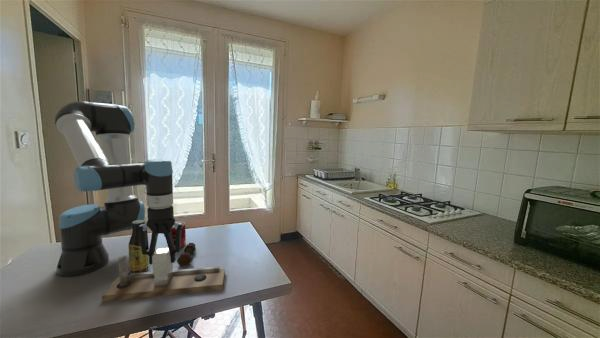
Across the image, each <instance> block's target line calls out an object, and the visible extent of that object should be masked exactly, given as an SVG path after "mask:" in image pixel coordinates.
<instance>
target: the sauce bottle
mask: <svg viewBox="0 0 600 338" xmlns="http://www.w3.org/2000/svg"><path fill="white" fill-rule="evenodd" d="M141 224H146V222H145V219H144V220H135V221H133V222H132V229H131V230H132V231H131V232H132V233H131V235H130V239H129V242H128V269H129V273H130V274H131V273H143V272H147V270H148V269H149V265H150V264H149V256H148V255H146V254H145V255H143V254H142V248H141V237H140V232H139V230H138V227H139V226H140V225H141Z"/></svg>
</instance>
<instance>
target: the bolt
mask: <svg viewBox="0 0 600 338" xmlns="http://www.w3.org/2000/svg"><path fill="white" fill-rule="evenodd" d="M196 249H197V248H196V244H195V243H194V242H189V243H188V244H185V246H184V249H183V252H182V253H180V255H179V257H178V258H177V260H176V263H177V264H178V266H179V267H189V266H190V264H191V263H192V261H193V259H194V258H193V256H192V255H194V253H195V252H196Z"/></svg>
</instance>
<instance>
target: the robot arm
mask: <svg viewBox="0 0 600 338" xmlns="http://www.w3.org/2000/svg"><path fill="white" fill-rule="evenodd" d="M135 124H136V123H135V119H134V115H133V113H132V112H131V110H130V108H128V107H127V106H125V105H119V104H114V103H103V102H92V101H84V100H79V101H78V100H77V101H73V102H69V103H67V104H65V105H63V106H61V107H60V108H59V109H58V110H57V111H56V114H55V115H54V125H55V127H56V129H57V131H58V132H59V133H61V135H63V136H64V138H65V140H66V143H67V145H68V146H69V149H70V151H71V153H72V155H73V158H74V159H75V161H76V162H75V163H77V166H76V167H75V168H74V171H73V181H74V186H75V188H76V190H78V191H79V192H92V191H94V192H97V191H103V190H104V191H105V190H107V198H106V200H104V202H103V203H104V206H102V207H101V206H100V205H99V204H96V203H92V204H85V205H83V204H82V205H79V206H75V207H72V208H69V209H68V210H65V211H63V212H62V213H61V214H60V215H59V218H58V228H59V234H60V235H59V236H60V244H61V245H60V246H61V254H60V257H59V259H58V262H57V264H56V265H57V266H56V273H57V275H58V276H60V277H76V276H81V275H85V274H90V273H92V272H95V271H97V270H100V269H101V268H104V267H105V266H106V265H107V264H108V263H109V262H110V256H109V253H108V251H107V249H106V248H105V246H104V244H103V237H104V236H110V235H113V234H117V233H121V232H124V231H130V230H132V222H133V221H135V220H144V221H145V217H146V213H147V221H146V222H145V224H141V225H140V226H139V227H138V230H139V232H140V237H141V248H142V254H143V255H145V254H146V255H148V256H149V265H151V266H152V272H153V275H154V253H155V251H156V250H157V248H156V247H157V242H158V238H159V234H162V235H163V236H164V238H165V241H166V244H167V248H169V252H170V253H169V254H168V273H171V272H172V270H174V266H173V265H174V263H175V262H176V261H177V260H176V259H177V258H176V257H177V256H176V254H177V253H180V251H181V250H182V248H181V234H182V227H183V223H182V222H183V221H182V222H181V223H178V222H175V221H176V219H175V216H174V214H175V213H174V188H173V185H174V184H173V182H174V181H173V173H174V172H173V166H172V161H171V160H170V159H166V158H159V159H158V158H155V159H154V158H153V159H147V160H146V161H137V162H134V163H130V159H129V158H130V157H129V150H128V149H129V148H128V139H129V138H130V137H131V133H133V132H134V131H135ZM94 132H95V133H94ZM98 139H99V140H100V142H101V145H100V143H99V141H98ZM135 186H146V187H145V188H146V191H145V194H146V206H147V209H146V208H145V205H144V202H143V201H141V200H139V198H138V196H136V195H135V194H134V190H133V187H135ZM173 225H174V226H175V229H177V230H176V248H175V245H174V241H173V238H172V234H171V228H172V227H173ZM148 229H150V231H151V237H150V238H151V239H150V244H149V236H148V235H149V234H148Z"/></svg>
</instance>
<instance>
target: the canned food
mask: <svg viewBox="0 0 600 338" xmlns="http://www.w3.org/2000/svg"><path fill="white" fill-rule="evenodd" d="M175 222H178V223H181V222H182V223H183V227H182V234H181V249H182V248H185V247H186V245H187V244H186V243H187V242H186V241H187V240H186V239H187V238H186V236H187V235H186V222H185V221H180V220H178V221H176V220H175ZM176 230H177V229H175V226H174V225H173V227H172V228H171V234H172V238H173V241H174V245H175V248H176Z"/></svg>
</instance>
